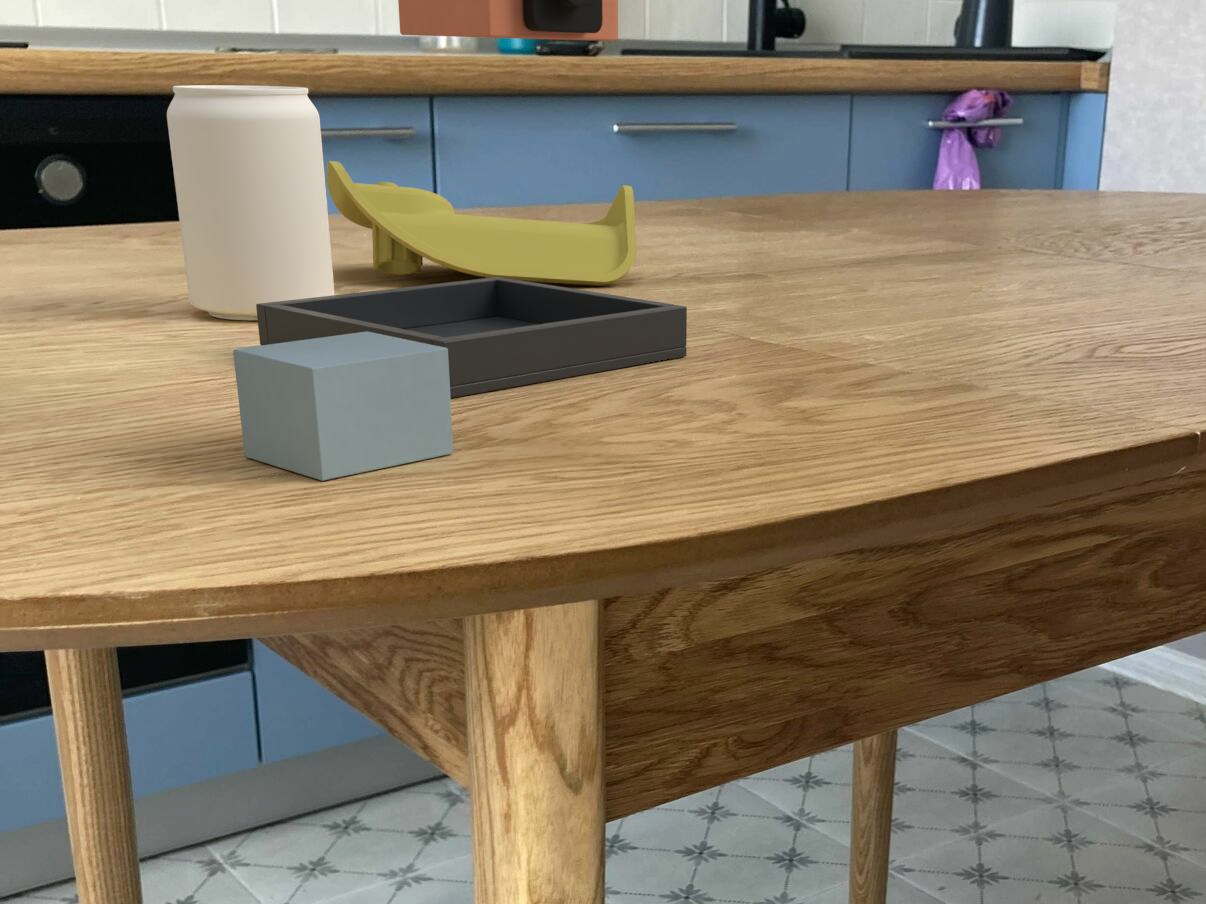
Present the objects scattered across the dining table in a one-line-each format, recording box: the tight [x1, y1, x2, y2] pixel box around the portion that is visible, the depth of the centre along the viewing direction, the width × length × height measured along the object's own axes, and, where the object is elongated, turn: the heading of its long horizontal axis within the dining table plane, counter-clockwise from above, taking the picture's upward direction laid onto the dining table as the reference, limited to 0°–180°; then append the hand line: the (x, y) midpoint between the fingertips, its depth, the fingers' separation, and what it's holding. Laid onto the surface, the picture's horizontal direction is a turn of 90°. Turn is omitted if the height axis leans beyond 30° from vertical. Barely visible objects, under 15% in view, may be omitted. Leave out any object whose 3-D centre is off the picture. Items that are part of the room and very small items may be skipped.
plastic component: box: [325, 160, 638, 287], centre depth 104 cm, size 20×7×10 cm
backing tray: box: [256, 277, 688, 399], centre depth 78 cm, size 15×16×2 cm
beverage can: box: [166, 84, 336, 321], centre depth 87 cm, size 8×8×12 cm
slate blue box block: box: [232, 332, 454, 482], centre depth 58 cm, size 5×6×4 cm
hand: (509, 24), depth 55 cm, fingers closed on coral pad, 5 cm apart
